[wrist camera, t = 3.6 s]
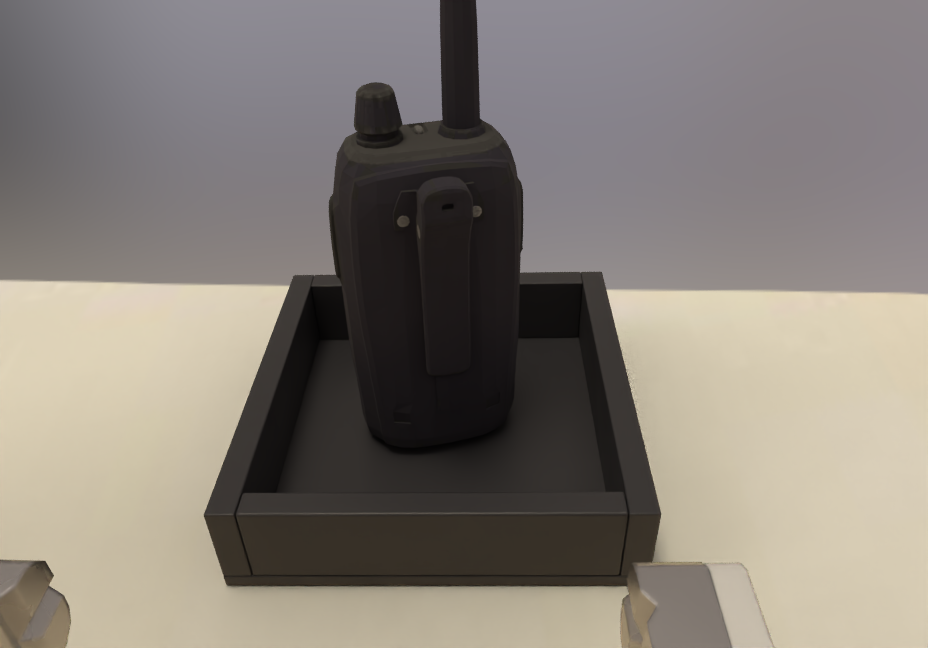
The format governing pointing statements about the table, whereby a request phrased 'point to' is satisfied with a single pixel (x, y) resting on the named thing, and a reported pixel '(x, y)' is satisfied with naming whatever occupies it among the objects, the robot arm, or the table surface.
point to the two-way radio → (430, 255)
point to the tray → (439, 462)
